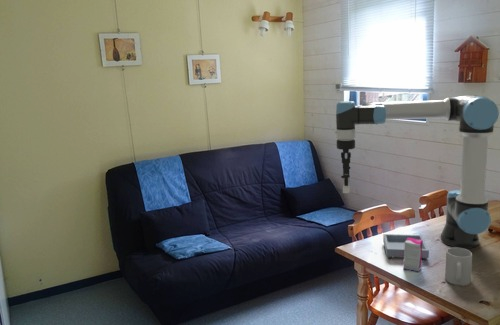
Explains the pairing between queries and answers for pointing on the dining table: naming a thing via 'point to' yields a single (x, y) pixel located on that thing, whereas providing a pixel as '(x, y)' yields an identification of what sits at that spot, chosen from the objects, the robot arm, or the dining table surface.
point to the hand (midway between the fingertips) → (346, 188)
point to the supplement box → (412, 254)
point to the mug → (458, 266)
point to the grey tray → (401, 245)
